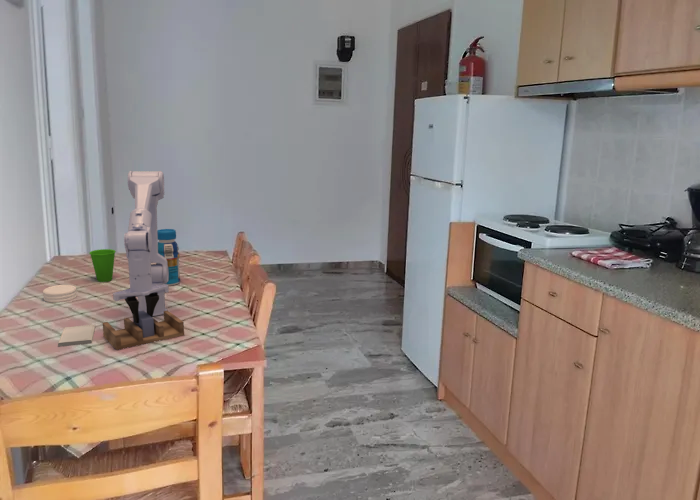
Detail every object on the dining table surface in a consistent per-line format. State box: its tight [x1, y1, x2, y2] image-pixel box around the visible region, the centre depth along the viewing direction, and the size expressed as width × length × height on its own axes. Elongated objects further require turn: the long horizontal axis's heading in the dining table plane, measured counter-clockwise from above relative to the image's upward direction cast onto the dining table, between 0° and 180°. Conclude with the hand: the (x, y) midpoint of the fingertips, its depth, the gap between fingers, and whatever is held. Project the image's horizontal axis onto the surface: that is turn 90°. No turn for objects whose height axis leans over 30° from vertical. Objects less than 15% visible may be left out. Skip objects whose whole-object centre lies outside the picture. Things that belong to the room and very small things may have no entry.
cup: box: [89, 248, 117, 283], centre depth 208 cm, size 9×9×11 cm
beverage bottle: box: [155, 228, 181, 287], centre depth 205 cm, size 8×8×20 cm
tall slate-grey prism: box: [132, 310, 154, 338], centre depth 155 cm, size 8×3×5 cm, turn 39°
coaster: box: [42, 284, 78, 303], centre depth 187 cm, size 10×10×4 cm
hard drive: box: [57, 324, 96, 348], centre depth 154 cm, size 2×8×12 cm
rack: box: [102, 309, 185, 351], centre depth 156 cm, size 12×18×4 cm, turn 129°
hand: (143, 320), depth 155 cm, fingers closed on tall slate-grey prism, 3 cm apart
